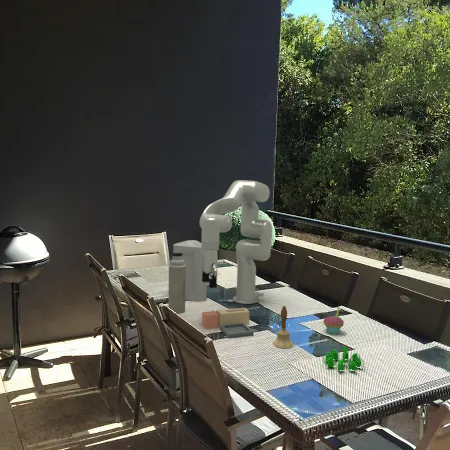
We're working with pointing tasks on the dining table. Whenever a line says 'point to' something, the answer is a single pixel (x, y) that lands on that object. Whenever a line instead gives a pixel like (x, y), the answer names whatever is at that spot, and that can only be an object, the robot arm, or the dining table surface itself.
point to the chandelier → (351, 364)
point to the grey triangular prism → (192, 270)
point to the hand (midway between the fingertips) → (209, 284)
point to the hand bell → (283, 333)
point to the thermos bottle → (177, 283)
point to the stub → (210, 319)
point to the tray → (236, 330)
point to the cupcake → (333, 323)
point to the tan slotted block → (233, 316)
